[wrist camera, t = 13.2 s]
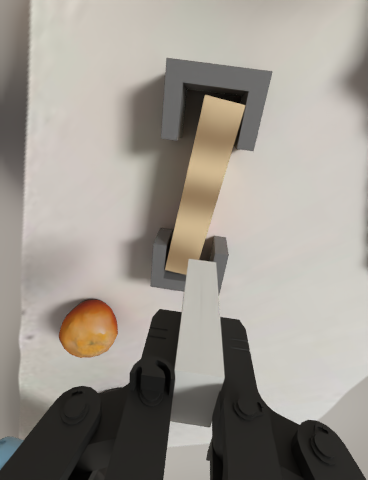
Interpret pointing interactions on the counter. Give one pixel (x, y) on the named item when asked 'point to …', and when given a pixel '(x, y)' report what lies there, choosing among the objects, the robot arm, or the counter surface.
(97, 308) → the fruit
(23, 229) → the counter surface
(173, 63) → the end caps
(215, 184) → the oak slat
